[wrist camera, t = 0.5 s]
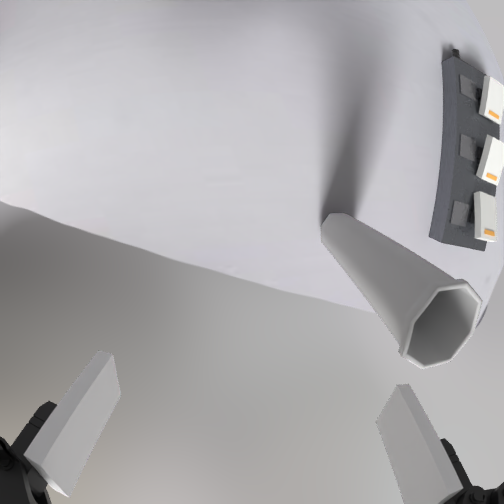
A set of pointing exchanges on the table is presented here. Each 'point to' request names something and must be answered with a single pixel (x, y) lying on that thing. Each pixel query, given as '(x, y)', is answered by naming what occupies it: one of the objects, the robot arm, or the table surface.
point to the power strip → (461, 155)
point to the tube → (405, 291)
